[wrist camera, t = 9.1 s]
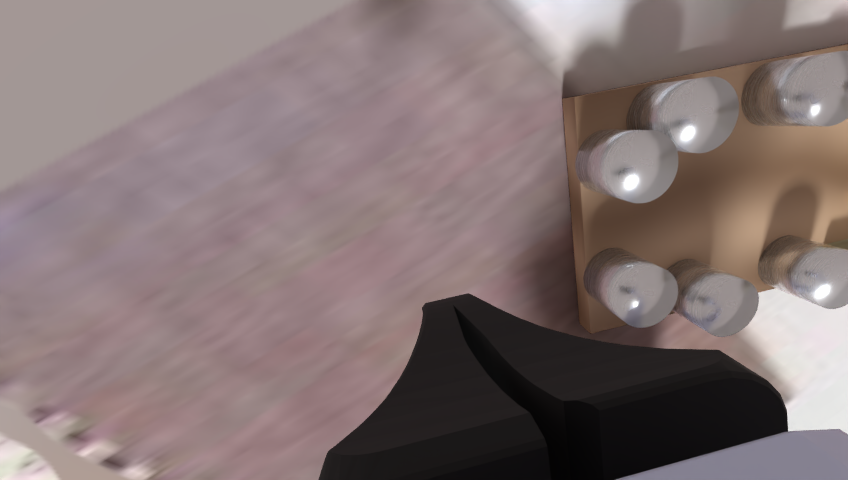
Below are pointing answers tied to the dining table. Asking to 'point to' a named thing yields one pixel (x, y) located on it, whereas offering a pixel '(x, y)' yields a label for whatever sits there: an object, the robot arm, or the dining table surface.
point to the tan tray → (711, 192)
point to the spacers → (656, 169)
